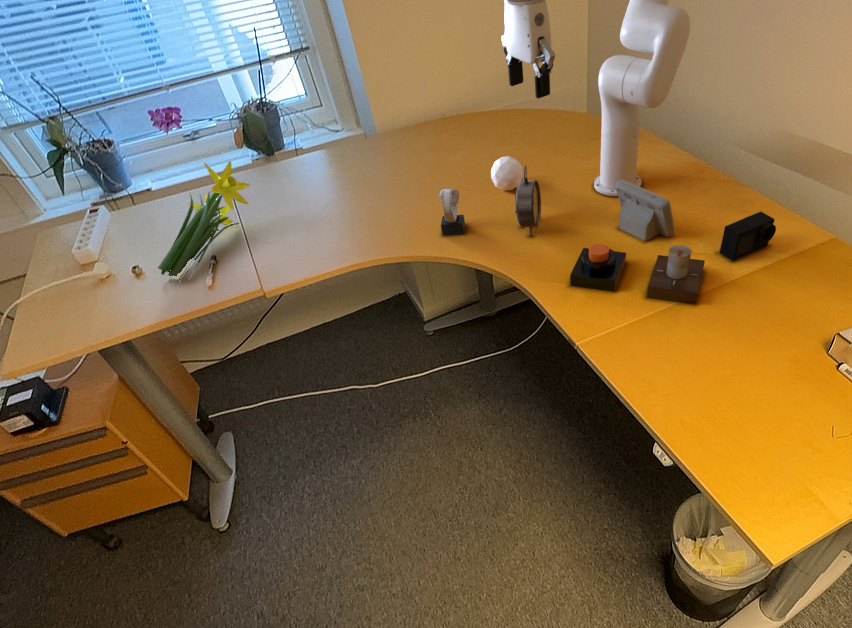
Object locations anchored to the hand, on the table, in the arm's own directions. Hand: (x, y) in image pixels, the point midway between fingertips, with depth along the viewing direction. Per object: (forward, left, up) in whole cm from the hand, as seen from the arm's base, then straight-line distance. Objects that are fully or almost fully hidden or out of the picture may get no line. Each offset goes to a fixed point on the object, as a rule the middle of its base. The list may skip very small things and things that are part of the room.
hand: (529, 90), depth 118 cm
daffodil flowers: (+24, -84, -35) cm, 94 cm away
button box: (+12, +18, -34) cm, 41 cm away
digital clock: (-9, +24, -35) cm, 43 cm away
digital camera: (-4, +48, -35) cm, 60 cm away
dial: (+12, +35, -31) cm, 49 cm away
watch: (+1, -23, -35) cm, 41 cm away
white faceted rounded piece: (-24, -17, -35) cm, 45 cm away
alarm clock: (-4, -4, -35) cm, 35 cm away
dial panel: (+12, +35, -34) cm, 51 cm away
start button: (+12, +18, -30) cm, 37 cm away
